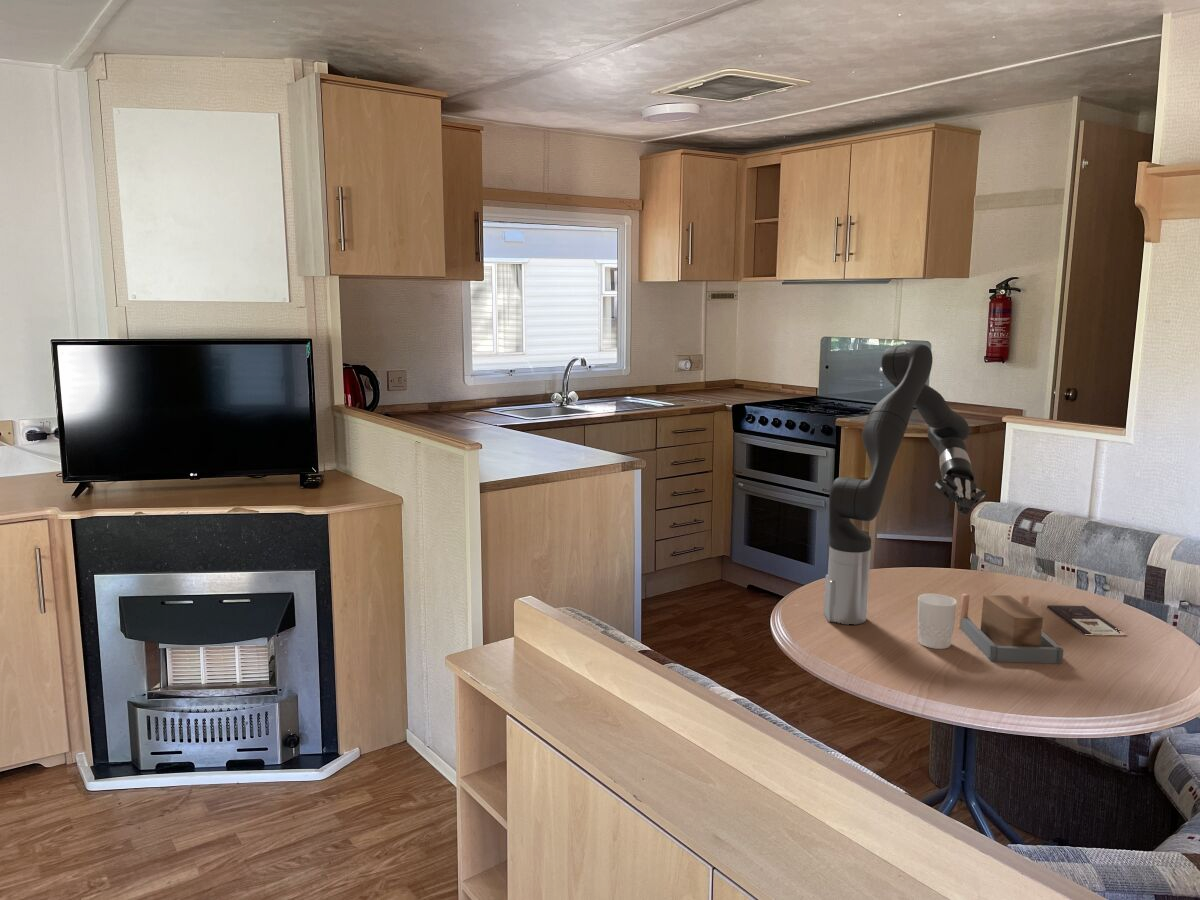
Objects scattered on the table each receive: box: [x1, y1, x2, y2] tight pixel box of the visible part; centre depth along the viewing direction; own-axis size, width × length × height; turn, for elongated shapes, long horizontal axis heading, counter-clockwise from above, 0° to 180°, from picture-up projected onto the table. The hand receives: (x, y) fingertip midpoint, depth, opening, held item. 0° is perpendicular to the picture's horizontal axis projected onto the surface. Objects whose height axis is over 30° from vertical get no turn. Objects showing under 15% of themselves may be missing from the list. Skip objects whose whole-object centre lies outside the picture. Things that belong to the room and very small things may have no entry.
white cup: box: [917, 593, 958, 650], centre depth 196 cm, size 8×8×10 cm
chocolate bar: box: [1046, 604, 1122, 635], centre depth 211 cm, size 9×1×18 cm
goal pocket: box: [958, 593, 1064, 664], centre depth 196 cm, size 15×19×8 cm
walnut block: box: [980, 594, 1044, 647], centre depth 195 cm, size 6×14×9 cm, turn 3°
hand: (965, 511), depth 218 cm, fingers closed
